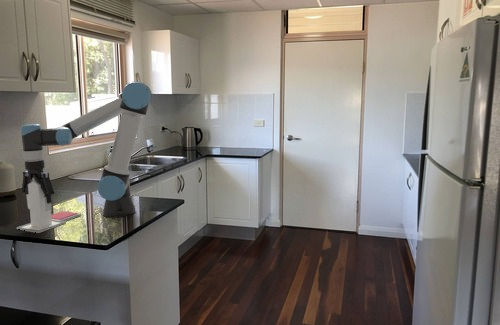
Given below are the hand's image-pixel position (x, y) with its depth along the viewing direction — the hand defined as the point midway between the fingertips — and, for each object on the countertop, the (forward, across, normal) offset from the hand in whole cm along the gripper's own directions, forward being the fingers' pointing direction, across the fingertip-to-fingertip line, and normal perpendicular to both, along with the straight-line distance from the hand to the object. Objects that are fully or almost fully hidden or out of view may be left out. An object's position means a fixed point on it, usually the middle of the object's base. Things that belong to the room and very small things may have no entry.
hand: (39, 209), depth 181 cm
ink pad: (+8, +2, -12) cm, 15 cm away
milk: (+7, 0, 0) cm, 7 cm away
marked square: (+8, 0, 0) cm, 8 cm away
